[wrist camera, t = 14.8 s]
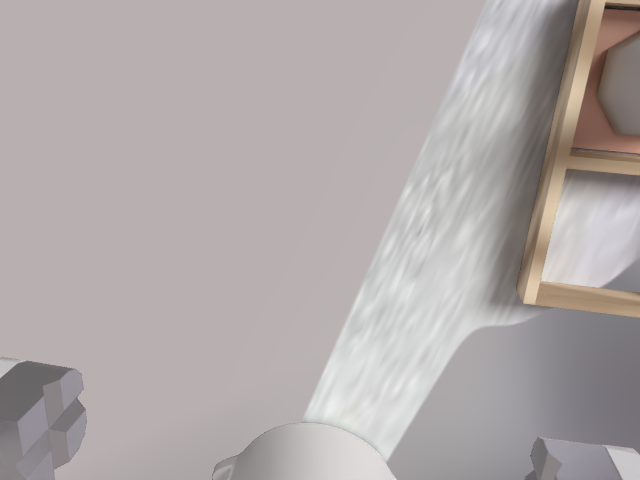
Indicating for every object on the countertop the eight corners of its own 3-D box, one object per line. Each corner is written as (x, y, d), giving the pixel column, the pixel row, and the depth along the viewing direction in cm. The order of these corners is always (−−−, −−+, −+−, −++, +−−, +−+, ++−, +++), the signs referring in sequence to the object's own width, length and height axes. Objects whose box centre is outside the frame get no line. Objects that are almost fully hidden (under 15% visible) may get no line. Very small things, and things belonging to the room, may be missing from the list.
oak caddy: (665, 306, 40) (681, 322, 38) (516, 288, 41) (523, 303, 39) (765, 1, 33) (793, -2, 31) (581, -11, 34) (594, -14, 32)
